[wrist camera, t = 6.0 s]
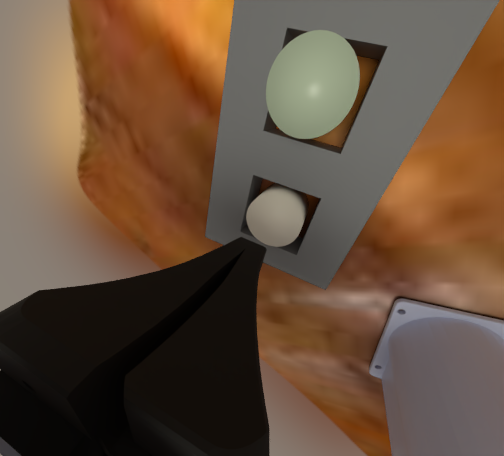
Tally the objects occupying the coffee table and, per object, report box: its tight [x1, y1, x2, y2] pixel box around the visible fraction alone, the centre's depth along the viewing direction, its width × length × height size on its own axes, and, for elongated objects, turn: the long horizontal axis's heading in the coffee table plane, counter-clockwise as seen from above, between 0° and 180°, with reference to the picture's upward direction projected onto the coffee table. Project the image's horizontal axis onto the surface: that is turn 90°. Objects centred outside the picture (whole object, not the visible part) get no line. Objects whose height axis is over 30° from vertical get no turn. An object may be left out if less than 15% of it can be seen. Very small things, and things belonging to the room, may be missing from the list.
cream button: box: [246, 183, 309, 247], centre depth 15 cm, size 4×4×3 cm
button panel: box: [205, 0, 499, 290], centre depth 11 cm, size 22×10×2 cm, turn 166°
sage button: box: [266, 30, 360, 139], centre depth 10 cm, size 4×4×3 cm
